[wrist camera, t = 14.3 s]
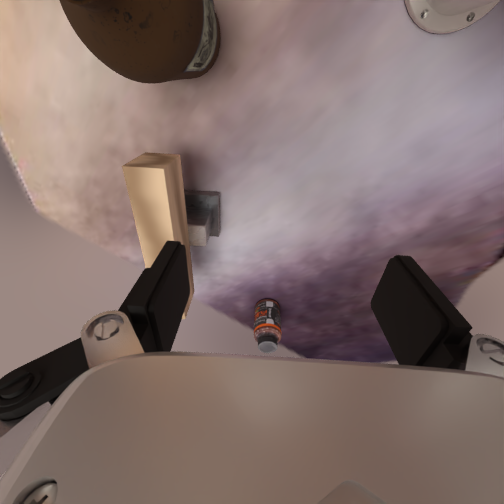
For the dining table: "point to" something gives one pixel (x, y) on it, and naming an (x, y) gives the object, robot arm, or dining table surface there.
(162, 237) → the oak bar
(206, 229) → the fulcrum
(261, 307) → the supplement bottle
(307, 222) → the dining table surface
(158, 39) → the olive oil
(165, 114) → the dining table surface
